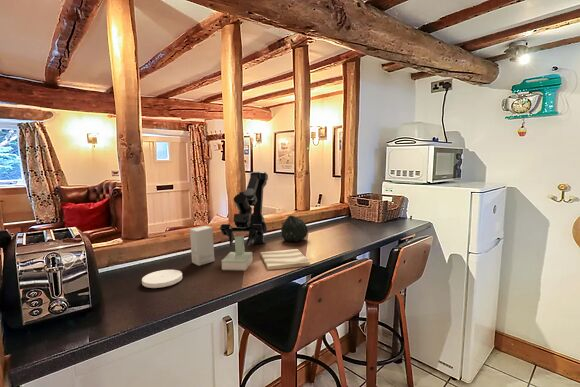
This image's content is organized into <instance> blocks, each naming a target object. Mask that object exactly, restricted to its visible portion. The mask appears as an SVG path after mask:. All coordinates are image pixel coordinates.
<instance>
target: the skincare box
mask: <svg viewBox="0 0 580 387" xmlns="http://www.w3.org/2000/svg"><path fill="white" fill-rule="evenodd" d="M189 239H190V240H189V241H190V252H191V253H190V254H191V263H192V264H194V265H196V266H202V265H203V266H204V265H206V264H209V263H213V262H215V261H216V260H215V245H214V228H213V227H212V226H209V225H204V226H198V227H194V228H189Z"/></svg>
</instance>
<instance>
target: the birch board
mask: <svg viewBox="0 0 580 387" xmlns="http://www.w3.org/2000/svg"><path fill="white" fill-rule="evenodd" d="M260 257H261V259H262V261H263V263H264V265H265V267H266V270H267V271H269V270H272V271H273V270H280V269H287V268H289V269H291V268H297V267H299V268H300V267H307V266H308V267H309V266H311V262H310V260H308V259H307V257H306V256H305V255H304V254H303V253H302V252H301V251H300V250H299V249H298V248H295V249H292V248H291V249H283V250H282V249H281V250H273V251H261V252H260Z"/></svg>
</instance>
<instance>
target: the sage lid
mask: <svg viewBox="0 0 580 387" xmlns="http://www.w3.org/2000/svg"><path fill="white" fill-rule="evenodd" d="M234 250H235V251H230V252H229V253H228V254H227V255H226V256H225V257H223V259H221V264H222V263H246V262H247V261H248V259H249V258H250V257H251V256H252V257H253V252H252V251H245V234H236V235H234Z"/></svg>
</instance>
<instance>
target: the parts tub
mask: <svg viewBox="0 0 580 387" xmlns="http://www.w3.org/2000/svg"><path fill="white" fill-rule="evenodd" d="M253 260H254V259H253V255H252V256H251V257H250V258H249V259H248V261H247V262H246V263H222V262H221V271H247V269H248V268H249V267H250V265H251V264H252V263H253Z"/></svg>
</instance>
